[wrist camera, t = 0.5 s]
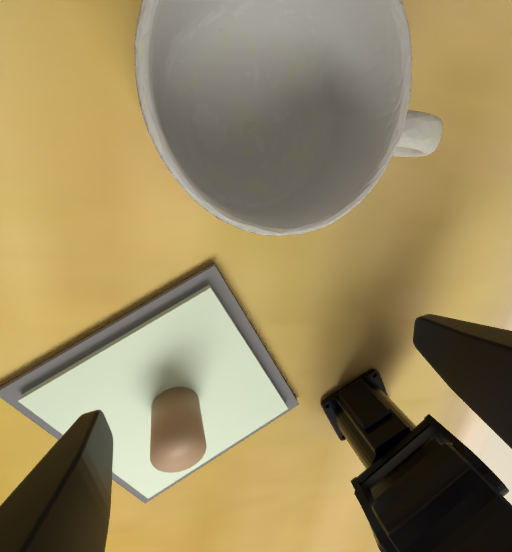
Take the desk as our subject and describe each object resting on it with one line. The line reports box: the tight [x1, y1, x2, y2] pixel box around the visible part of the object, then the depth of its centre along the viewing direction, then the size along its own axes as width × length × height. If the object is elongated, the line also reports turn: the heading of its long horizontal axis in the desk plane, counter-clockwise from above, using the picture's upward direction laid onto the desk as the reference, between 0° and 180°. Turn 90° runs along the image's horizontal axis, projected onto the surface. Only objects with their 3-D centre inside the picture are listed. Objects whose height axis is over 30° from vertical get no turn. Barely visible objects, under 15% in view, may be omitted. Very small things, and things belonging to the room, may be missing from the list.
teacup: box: [135, 0, 443, 236], centre depth 15 cm, size 14×11×8 cm
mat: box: [0, 263, 299, 503], centre depth 23 cm, size 16×16×1 cm
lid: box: [18, 285, 288, 499], centre depth 21 cm, size 14×14×5 cm
